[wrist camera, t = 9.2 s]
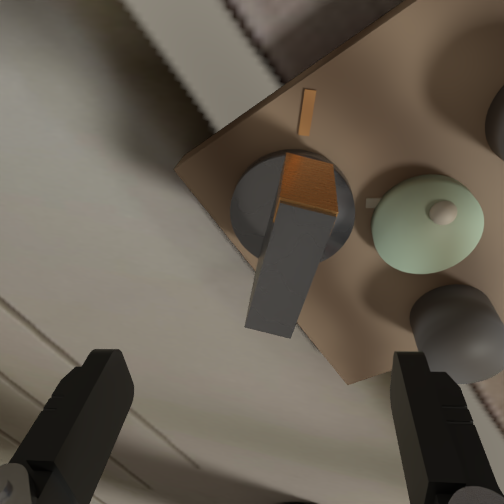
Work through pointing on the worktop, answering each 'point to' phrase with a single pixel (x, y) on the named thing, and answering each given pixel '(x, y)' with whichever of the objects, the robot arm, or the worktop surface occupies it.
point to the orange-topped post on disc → (289, 230)
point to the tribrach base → (394, 187)
